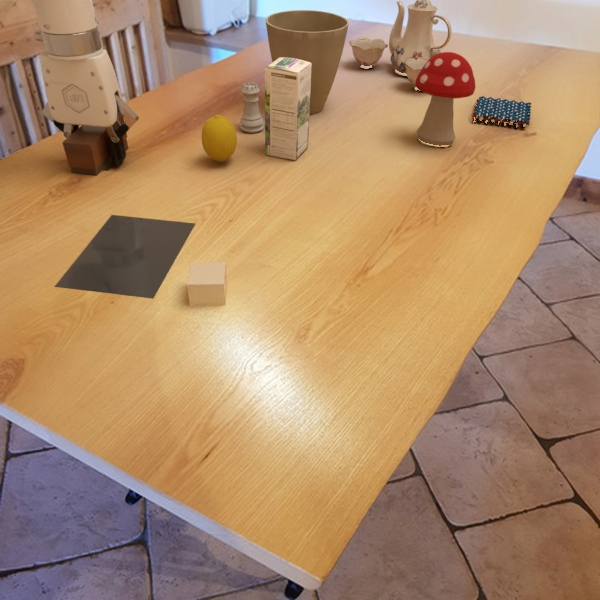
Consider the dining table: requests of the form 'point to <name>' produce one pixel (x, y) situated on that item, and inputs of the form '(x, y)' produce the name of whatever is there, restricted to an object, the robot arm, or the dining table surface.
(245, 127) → the rook chess piece
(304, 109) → the syrup box
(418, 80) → the decorative mushroom
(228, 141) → the lemon
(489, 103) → the woven mat
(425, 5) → the chinaware
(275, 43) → the plant pot
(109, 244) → the tile
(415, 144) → the dining table surface
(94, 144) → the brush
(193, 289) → the chalk block
